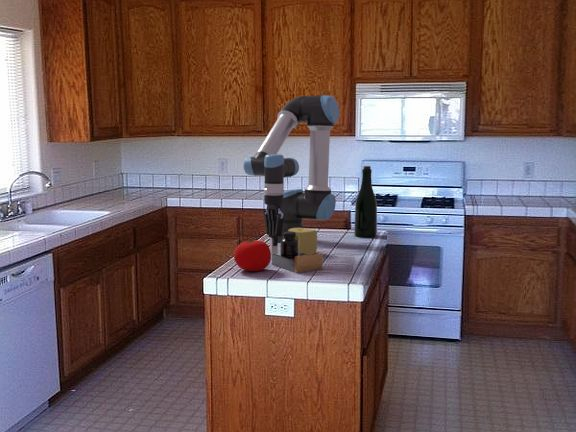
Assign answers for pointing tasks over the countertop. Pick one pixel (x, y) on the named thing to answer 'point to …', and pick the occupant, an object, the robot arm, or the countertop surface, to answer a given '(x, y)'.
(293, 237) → the supplement bottle
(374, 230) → the dark green wine bottle
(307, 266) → the guide channel
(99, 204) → the countertop surface
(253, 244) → the tomato
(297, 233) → the cheese
